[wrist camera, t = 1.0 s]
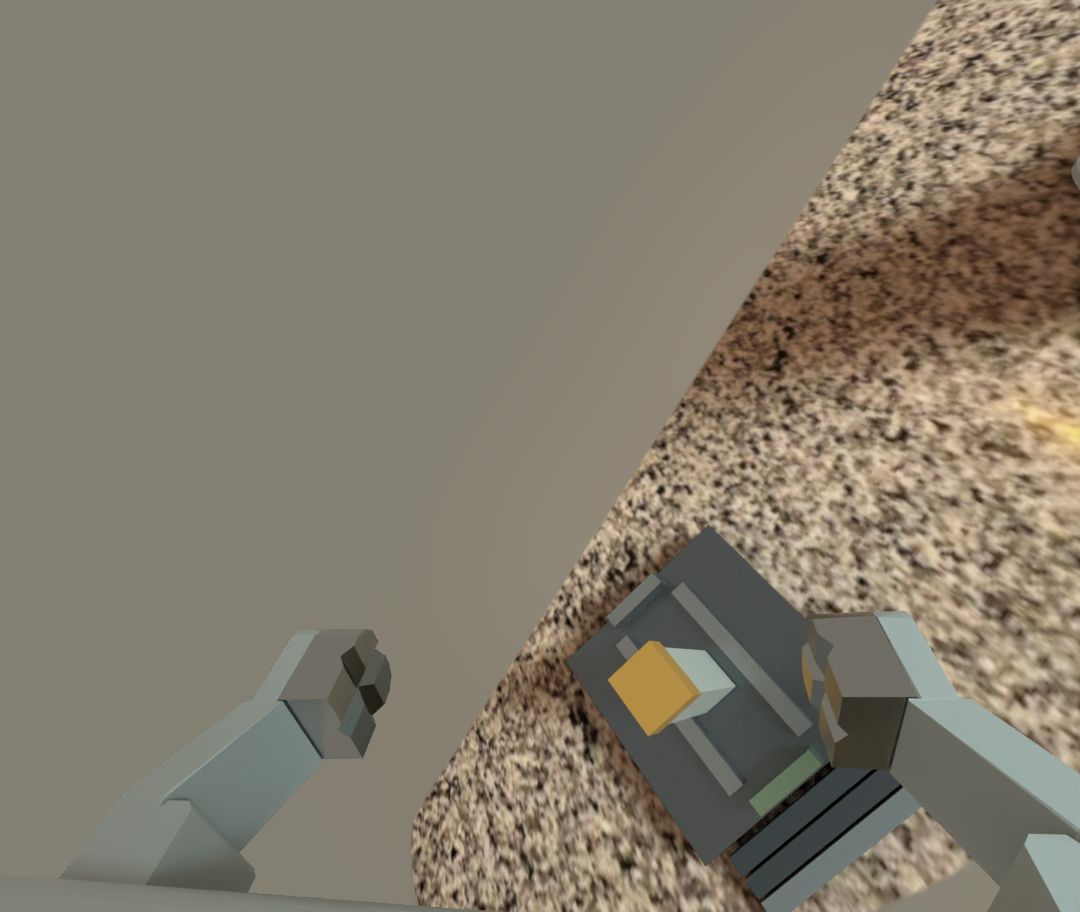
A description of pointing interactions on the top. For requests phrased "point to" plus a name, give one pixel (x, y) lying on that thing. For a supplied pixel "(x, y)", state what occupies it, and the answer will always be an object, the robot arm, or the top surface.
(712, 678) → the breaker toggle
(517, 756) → the top surface
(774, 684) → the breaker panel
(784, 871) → the dark grey flat bar
